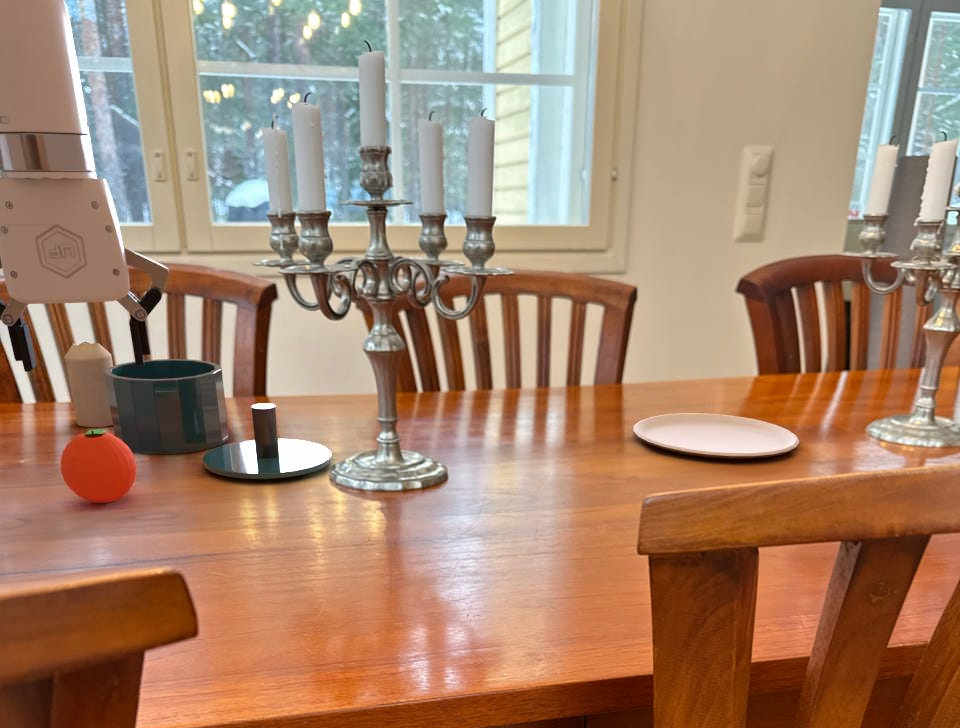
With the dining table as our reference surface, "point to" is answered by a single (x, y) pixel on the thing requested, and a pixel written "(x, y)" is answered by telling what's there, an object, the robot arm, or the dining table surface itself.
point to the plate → (716, 436)
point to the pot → (168, 405)
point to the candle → (89, 383)
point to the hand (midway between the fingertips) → (86, 366)
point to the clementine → (98, 466)
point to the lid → (266, 452)
